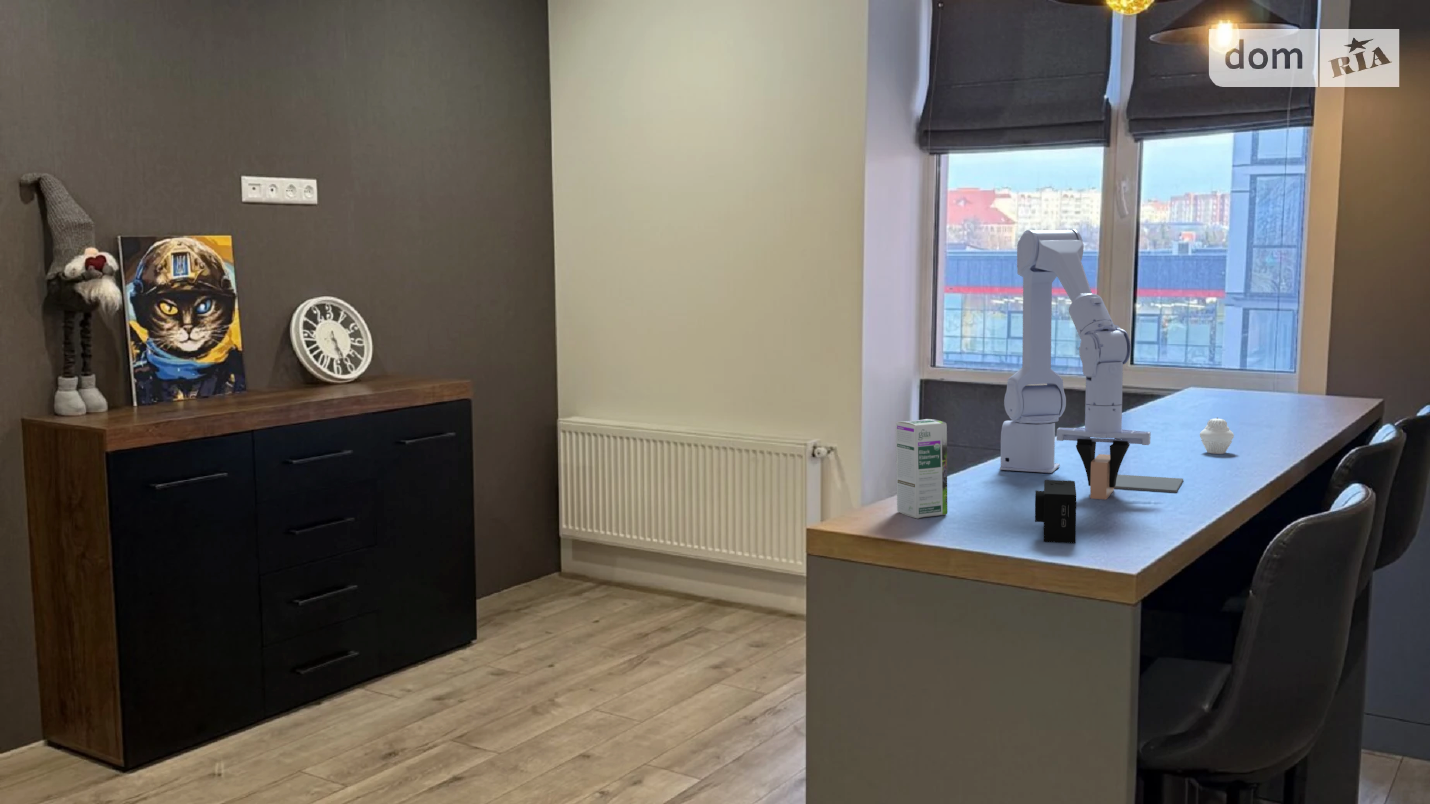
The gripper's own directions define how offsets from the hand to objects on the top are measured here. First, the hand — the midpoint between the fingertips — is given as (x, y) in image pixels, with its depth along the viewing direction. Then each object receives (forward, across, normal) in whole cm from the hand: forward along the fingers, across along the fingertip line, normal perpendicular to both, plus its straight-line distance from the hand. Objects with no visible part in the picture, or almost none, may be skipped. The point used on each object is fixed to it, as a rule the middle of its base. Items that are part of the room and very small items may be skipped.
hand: (1101, 485), depth 196 cm
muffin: (+2, +14, +49) cm, 51 cm away
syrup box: (+2, -23, -25) cm, 34 cm away
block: (+1, 0, 0) cm, 1 cm away
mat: (+1, +6, +11) cm, 12 cm away
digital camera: (+2, -2, -31) cm, 31 cm away
